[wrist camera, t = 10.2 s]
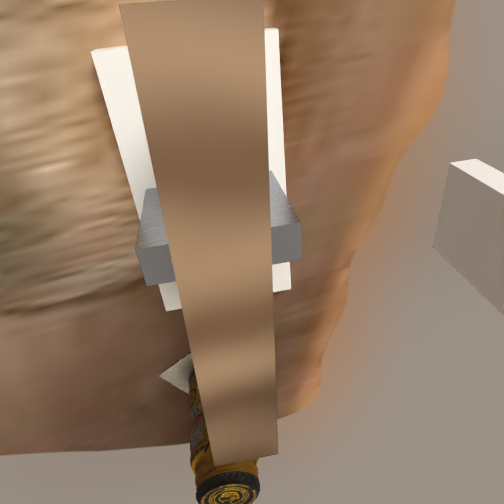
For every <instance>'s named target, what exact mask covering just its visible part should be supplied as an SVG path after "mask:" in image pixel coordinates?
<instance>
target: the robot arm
mask: <svg viewBox="0 0 504 504" xmlns="http://www.w3.org/2000/svg"><path fill="white" fill-rule="evenodd" d="M433 248H434V249H435V250H436V251H437V252H438V253H439V254H440V255H441V256H442V257H443V258H444V259H445V260H446V261H447V262H449V263H450V264H451V265H452V266H453V267H454V268H455V269H456V270H457V271H458V272H459V273H460V274H461V275H462V276H463V277H464V278H465V279H466V280H467V281H468V282H469V283H471V285H473V286H474V287H475V288H476V289H477V290H478V291H479V292H480V293H481V294H482V295H483V296H484V297H485V298H486V299H487V300H488V301H489V302H490V303H491V304H492V305H493V306H494V307H495V308H496V309H497V310H499V311H500V312H501V313H502V314H503V315H504V173H502V172H500V171H498V170H496V169H495V168H493V167H491V166H488V165H487V164H485V163H483V162H481V161H479V160H477V159H471V160H465V161H459V162H452V163H450V165H449V169H448V174H447V179H446V184H445V189H444V194H443V199H442V203H441V208H440V213H439V218H438V223H437V228H436V233H435V238H434V243H433Z"/></svg>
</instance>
